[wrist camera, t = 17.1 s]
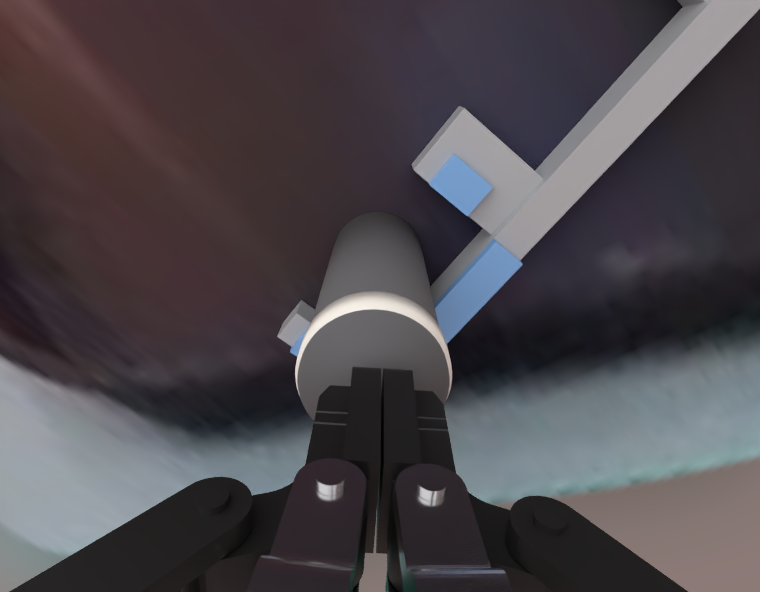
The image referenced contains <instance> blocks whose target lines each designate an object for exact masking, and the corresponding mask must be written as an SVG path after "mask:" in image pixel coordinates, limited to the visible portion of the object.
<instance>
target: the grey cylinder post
mask: <svg viewBox="0 0 760 592" xmlns="http://www.w3.org/2000/svg"><path fill="white" fill-rule="evenodd" d="M352 367H368V368H381V391H382V379H383V369H384V368H386V369H403V370H412V371H413V380H414V390H422V391H433V392H434V393H435V395H436V396H437V397H438V398H439V399H440V400H441V402H442V403H443V405H444V404H445V402H446V400H447V398H448V395H449V392H450V389H451V383H452V367H451V360H450V356H449V352H448V348H447V344H446V340H445V337H444V335H443V332H442V330H441V328H440V326H439V324H438V320H437V315H436V311H435V307H434V302H433V298H432V293H431V289H430V284H429V280H428V275H427V271H426V266H425V262H424V258H423V253H422V249H421V244H420V241H419V239H418V236H417V234H416V233H415V231H414V230H413V228H412V227H411V226H410V225H409V224H408V223H407V222H406V221H404V220H403V219H401V218H399V217H398V216H396V215H393V214H390V213H385V212H370V213H365V214H362V215H359V216H357V217H355V218H354V219H352V220H350V221H349V222H348V223H347V224H346V225H345V226H344V227H343V228H342V229H341V231H340V232H339V234H338V236H337V238H336V241H335V244H334V247H333V251H332V254H331V258H330V261H329V265H328V268H327V271H326V275H325V278H324V282H323V285H322V288H321V292H320V295H319V299H318V302H317V306H316V309H315V312H314V316H313V319H312V322H311V323H310V325H309V327H308V328H307V330H306V332H305V335H304V338H303V341H302V344H301V347H300V351H299V354H298V357H297V362H296V367H295V378H296V386H297V389H298V393H299V396H300V399H301V401H302V403H303V406H304V408H305V409H306V411H307V413H308V414H309V415H310V417H311V418H312V419H313V420H314V419H315V414H316V409H317V404H318V399H319V396H320V395H321V394H322V393H323V392H324V391H325V390H326V389H327V388H328V387H329V386H330V385H337V386H351V377H352Z"/></svg>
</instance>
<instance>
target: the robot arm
mask: <svg viewBox="0 0 760 592" xmlns="http://www.w3.org/2000/svg"><path fill="white" fill-rule="evenodd" d="M376 511H377V541H376V542H377V543H376V544H377V545H376V552H377V553H386V554H387V576H386V586H385V592H687V591H686V590H685V589H684V588H682V587H681V586H679V585H678V584H677V583H675V582H673V581H672V580H671V579H670V578H668V577H667V576H665V575H664V574H662V573H661V572H660V571H658V570H657V569H655V568H654V567H653V566H651V565H650V564H649V563H647V562H646V561H644V560H643V559H642V558H640V557H639V556H637V555H636V554H635V553H633V552H632V551H631V550H629V549H628V548H626V547H625V546H624V545H622V544H621V543H619V542H618V541H617V540H615V539H614V538H612V537H611V536H609V535H608V534H607V533H605V532H604V531H602V530H601V529H600V528H598V527H597V526H596V525H594V524H593V523H591V522H590V521H589V520H587V519H586V518H584V517H583V516H582V515H580V514H579V513H577V512H576V511H575V510H573V509H572V508H570V507H569V506H567V505H566V504H564V503H562V502H560V501H558V500H555V499H552V498H548V497H543V496H529V497H525V498H522V499H520V500H518V501H517V502H515V503H514V505H513V506H512V508H511V510H507V509H504V508H501V507H498V506H494V505H491V504H488V503H486V502H483V501H481V500H479V499H477V498H476V497H474V496H472V495H471V494H470V493H469V492H468V491H467V488H466V486H465V483H464V482H463V480H462V479H461V478H460V477H459V476H458V475H457V474H456V471H455V465H454V460H453V454H452V449H451V443H450V438H449V432H448V427H447V421H446V416H445V410H444V405H443V403H442V402H441V400H440V399H439V398H438V397H437V396H436V395H435V393H434V392H433V391H422V390H414V380H413V371H412V370H403V369H386V368H384V369H383V379H382V391H381V368H368V367H352V377H351V386H337V385H330V386H329V387H328V388H327V389H326V390H325V391H324V392H323V393H322V394H321V395H320V396H319V399H318V404H317V409H316V414H315V419H314V424H313V429H312V434H311V439H310V444H309V449H308V454H307V459H306V464H305V466H304V467H302V468H301V469H300V470H299V472H298V473H297V474H296V477H295V479H294V482H293V483H291V484H290V485H288V486H286V487H284V488H282V489H279V490H277V491H273V492H269V493H263V494H258V495H253V496H252V495H251V492H250V490H249V489H248V487H247V486H246V485H245V484H243V483H242V482H240V481H238V480H235V479H232V478H227V477H213V478H207V479H203V480H200V481H198V482H195V483H193V484H191V485H189V486H188V487H186V488H184V489H183V490H181V491H179V492H178V493H176V494H174V495H173V496H171V497H169V498H167V499H166V500H164V501H162V502H161V503H159V504H157V505H156V506H154V507H152V508H150V509H149V510H147V511H145V512H144V513H142V514H140V515H139V516H137V517H135V518H134V519H132V520H130V521H128V522H127V523H125V524H123V525H122V526H120V527H118V528H117V529H115V530H113V531H112V532H110V533H108V534H106V535H105V536H103V537H101V538H100V539H98V540H96V541H95V542H93V543H91V544H90V545H88V546H86V547H84V548H83V549H81V550H79V551H78V552H76V553H74V554H73V555H71V556H69V557H68V558H66V559H64V560H62V561H61V562H59V563H57V564H56V565H54V566H52V567H51V568H49V569H47V570H46V571H44V572H42V573H40V574H39V575H37V576H35V577H34V578H32V579H30V580H29V581H27V582H25V583H24V584H22V585H20V586H18V587H17V588H15V589H13V590H12V591H10V592H359V581H360V579H361V577H362V574H363V570H364V558H365V553H373V548H374V536H375V524H376Z"/></svg>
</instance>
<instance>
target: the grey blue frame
mask: <svg viewBox="0 0 760 592" xmlns="http://www.w3.org/2000/svg"><path fill="white" fill-rule="evenodd" d="M677 1H678V2H679V3H680V4H681V5H682V8H681V9H680V10H679V11H678V13H677V14H676V15H675V16H674V17H673V18H672V19H671V20H670V21H669V23H668V24H667V25H666V26H665V27H664V28H663V29H662V30H661V31H660V33H659V34H658V35H657V36H656V37H655V38H654V39H653V40H652V41H651V43H650V44H649V45H648V46H647V47H646V48H645V49H644V50H643V51H642V52H641V54H640V55H639V56H638V57H637V58H636V59H635V60H634V61H633V62H632V64H631V65H630V66H629V67H628V68H627V69H626V70H625V71H624V72H623V74H622V75H621V76H620V77H619V78H618V79H617V80H616V81H615V82H614V84H613V85H612V86H611V87H610V88H609V89H608V90H607V91H606V92H605V93H604V95H603V96H602V97H601V98H600V99H599V100H598V101H597V102H596V103H595V105H594V106H593V107H592V108H591V109H590V110H589V111H588V112H587V113H586V115H585V116H584V117H583V118H582V119H581V120H580V121H579V122H578V123H577V125H576V126H575V127H574V128H573V129H572V130H571V131H570V132H569V133H568V134H567V136H566V137H565V138H564V139H563V140H562V141H561V142H560V143H559V144H558V146H557V147H556V148H555V149H554V150H553V151H552V152H551V153H550V154H549V156H548V157H547V158H546V159H545V160H544V161H543V162H542V163H541V164H540V166H539V167H538V168H537V169H536V170H535V171H534V170H533V169H532V168H531V167H530V166H529V165H527V164H526V163H525V162H524V161H523V160H522V159H521V158H520V157H518V156H517V155H516V154H515V153H514V152H513V151H512V150H511V149H510V148H508V147H507V146H506V145H505V144H504V143H503V142H502V141H501V140H499V139H498V138H497V137H496V136H495V135H494V134H493V133H492V132H491V131H489V130H488V129H487V128H486V127H485V126H484V125H483V124H482V123H480V122H479V121H478V120H477V119H476V118H475V117H474V116H473V115H471V114H470V113H469V112H468V111H467V110H466V109H465V108H463V107H460V106H459V107H458V108H457V109H456V110H455V111H454V113H453V114H452V115H451V116H450V118H449V119H448V120H447V121H446V123H445V124H444V125H443V126H442V127H441V129H440V130H439V131H438V132H437V134H436V135H435V136H434V137H433V139H432V140H431V141H430V142H429V143H428V145H427V146H426V147H425V148H424V150H423V151H422V152H421V153H420V155H419V156H418V157H417V158H416V159H415V161H414V162H413V163H412V168H413V170H414V171H415V172H416V173H417V174H419V175H420V176H421V177H422V178H423V179H425V180H426V181H427V182H428V183H429V185H430V186H431V187H432V188H434V189H435V190H436V191H437V192H438V193H440V194H441V195H442V196H443V197H444V198H446V199H447V200H448V201H449V202H450V203H452V204H453V205H454V206H455V207H457V208H458V209H459V210H460V211H461V212H463V213H464V214H465V215H466V216H469V217H470V218H471V219H473V220H474V221H475V222H476V223H477V224H479V225H480V226H481V227H482V228H483V229H482V230H481V231H480V232H479V233H478V234H477V235H476V236H475V238H474V239H473V240H472V241H471V242H470V243H469V244H468V245H467V246H466V248H465V249H464V250H463V251H462V252H461V253H460V254H459V255H458V256H457V257H456V259H455V260H454V261H453V262H452V263H451V264H450V265H449V266H448V267H447V269H446V270H445V271H444V272H443V273H442V274H441V275H440V276H439V277H438V279H437V280H436V281H435V282H434V283H433V284H432V285H431V286H430V289H431V293H432V298H433V302H434V307H435V311H436V315H437V320H438V324H439V326H440V328H441V330H442V332H443V335H444V337H445V340H446V344H447V343H448V342H449V341H450V340H451V339H452V338H453V337H454V336H455V335H456V334H457V333H458V332H459V331H460V330H461V329H462V328H463V327H464V326H465V324H466V323H467V322H468V321H469V320H470V319H471V318H472V317H473V316H474V315H475V314H476V313H477V312H478V311H479V310H480V309H481V308H482V307H483V306H484V305H485V304H486V303H487V301H488V300H489V299H490V298H491V297H492V296H493V295H494V294H495V293H496V292H497V291H498V290H499V289H500V288H501V287H502V286H503V285H504V284H505V283H506V282H507V281H508V280H509V278H510V277H511V276H512V275H513V274H514V273H515V272H516V271H517V270H518V269H519V268H520V267H521V266H522V265H523V264H522V262H521V261H520V260H521V259H522V258H523V257H524V256H525V255H526V254H527V253H528V252H529V251H530V250H531V248H532V247H533V246H534V245H535V244H536V243H537V242H538V241H539V240H540V239H541V238H542V237H543V236H544V235H545V234H546V233H547V232H548V231H549V230H550V229H551V227H552V226H553V225H554V224H555V223H556V222H557V221H558V220H559V219H560V218H561V217H562V216H563V215H564V214H565V213H566V212H567V211H568V210H569V209H570V208H571V206H572V205H573V204H574V203H575V202H576V201H577V200H578V199H579V198H580V197H581V196H582V195H583V194H584V193H585V192H586V191H587V190H588V189H589V188H590V187H591V185H592V184H593V183H594V182H595V181H596V180H597V179H598V178H599V177H600V176H601V175H602V174H603V173H604V172H605V171H606V170H607V169H608V168H609V167H610V166H611V164H612V163H613V162H614V161H615V160H616V159H617V158H618V157H619V156H620V155H621V154H622V153H623V152H624V151H625V150H626V149H627V148H628V147H629V146H630V145H631V143H632V142H633V141H634V140H635V139H636V138H637V137H638V136H639V135H640V134H641V133H642V132H643V131H644V130H645V129H646V128H647V127H648V126H649V125H650V124H651V122H652V121H653V120H654V119H655V118H656V117H657V116H658V115H659V114H660V113H661V112H662V111H663V110H664V109H665V108H666V107H667V106H668V105H669V104H670V102H671V101H672V100H673V99H674V98H675V97H676V96H677V95H678V94H679V93H680V92H681V91H682V90H683V89H684V88H685V87H686V86H687V85H688V84H689V83H690V81H691V80H692V79H693V78H694V77H695V76H696V75H697V74H698V73H699V72H700V71H701V70H702V69H703V68H704V67H705V66H706V65H707V64H708V63H709V62H710V60H711V59H712V58H713V57H714V56H715V55H716V54H717V53H718V52H719V51H720V50H721V49H722V48H723V47H724V46H725V45H726V44H727V43H728V42H729V41H730V39H731V38H732V37H733V36H734V35H735V34H736V33H737V32H738V31H739V30H740V29H741V28H742V27H743V26H744V25H745V24H746V23H747V22H748V21H749V20H750V18H751V17H752V16H753V15H754V14H755V13H756V12H757V11H758V10H759V9H760V0H677ZM314 312H315V309H313V308H312V307H310V306H309V305H308V304H306V303H305V302H303V301H302V300H301V301H300V302H299V304H298V305H297V306H296V307H295V308H294V310H293V311H292V312H291V313H290V315H289V316H288V317H287V318H286V320H285V321H284V322H283V324H282V326H281V329H280V331H279V334H278V336H277V337H278V338H280V339H281V340H283V341H284V342H286V343H287V344H289V345H290V346H292V347H291V350H290V352H291V353H292V354H294V355H295V356H297V357H298V354H299V351H300V347H301V344H302V341H303V338H304V335H305V332H306V330H307V328H308V327H309V325H310V323H311V322H312V319H313V316H314Z"/></svg>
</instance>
